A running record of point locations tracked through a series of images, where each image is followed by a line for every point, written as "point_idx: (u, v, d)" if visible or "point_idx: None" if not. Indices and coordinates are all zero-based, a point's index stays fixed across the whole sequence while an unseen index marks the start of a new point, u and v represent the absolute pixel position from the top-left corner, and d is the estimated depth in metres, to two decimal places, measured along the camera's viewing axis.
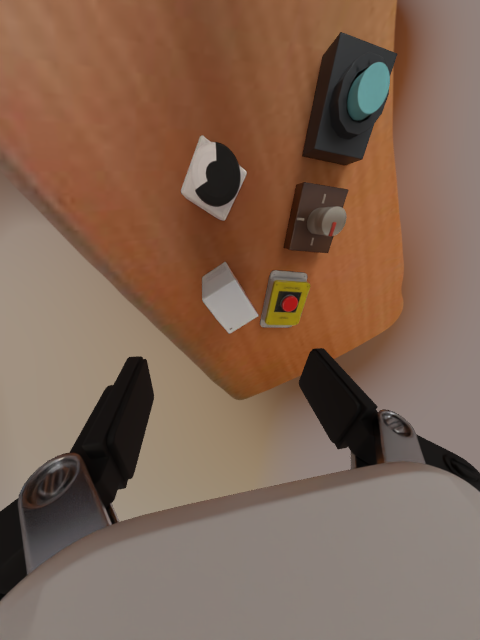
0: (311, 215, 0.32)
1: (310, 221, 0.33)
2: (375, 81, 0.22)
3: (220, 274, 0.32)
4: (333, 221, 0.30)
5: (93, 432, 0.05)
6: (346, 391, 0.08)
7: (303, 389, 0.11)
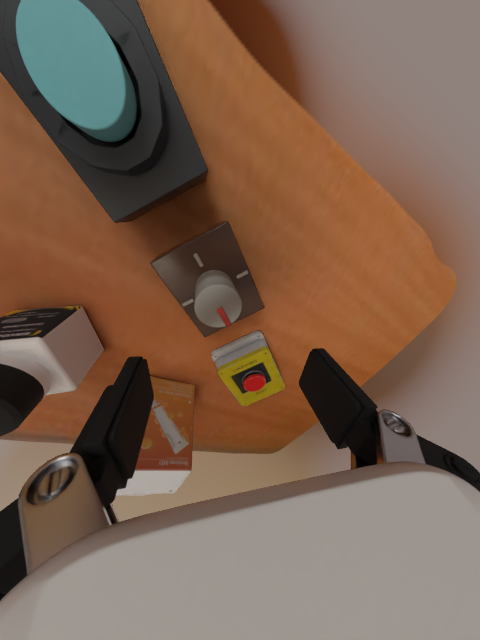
0: None
1: None
2: (60, 48, 0.08)
3: None
4: (216, 308, 0.16)
5: (93, 432, 0.05)
6: (346, 391, 0.08)
7: (303, 389, 0.11)
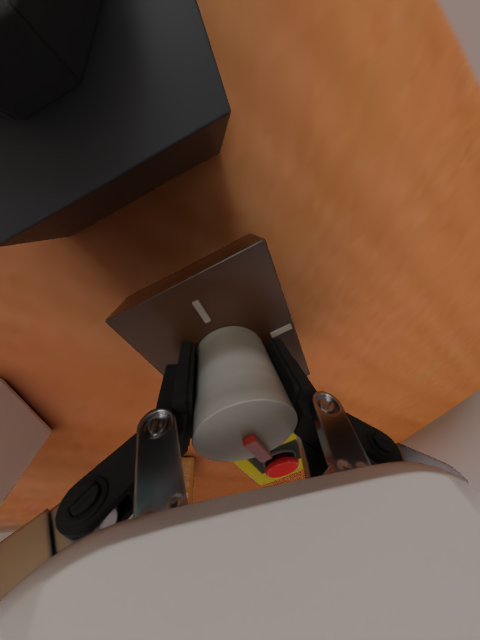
0: None
1: None
2: None
3: None
4: (242, 438, 0.07)
5: (176, 393, 0.07)
6: (289, 375, 0.08)
7: None
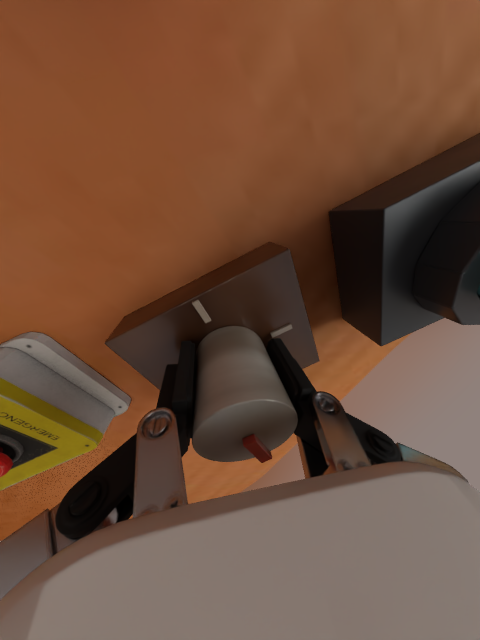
0: None
1: None
2: None
3: None
4: (242, 438, 0.07)
5: (176, 393, 0.07)
6: (289, 375, 0.08)
7: None
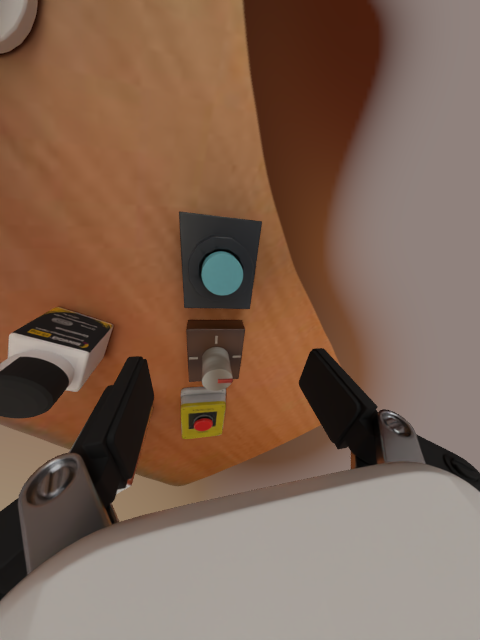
0: None
1: None
2: (221, 270, 0.18)
3: None
4: (217, 381, 0.25)
5: (93, 432, 0.05)
6: (346, 391, 0.08)
7: (303, 389, 0.11)
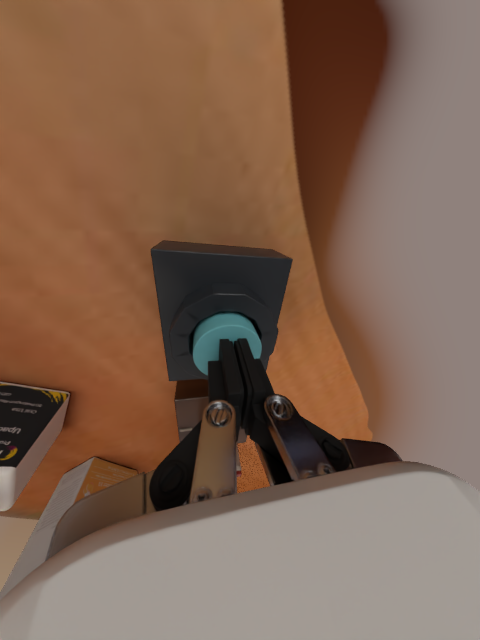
0: None
1: None
2: None
3: (50, 530, 0.20)
4: None
5: (230, 386, 0.07)
6: (245, 377, 0.08)
7: None
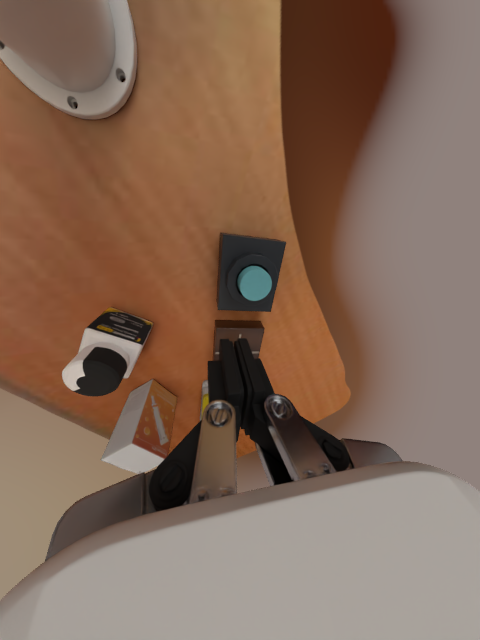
0: None
1: None
2: (256, 281, 0.23)
3: (135, 411, 0.32)
4: None
5: (230, 386, 0.07)
6: (245, 377, 0.08)
7: None
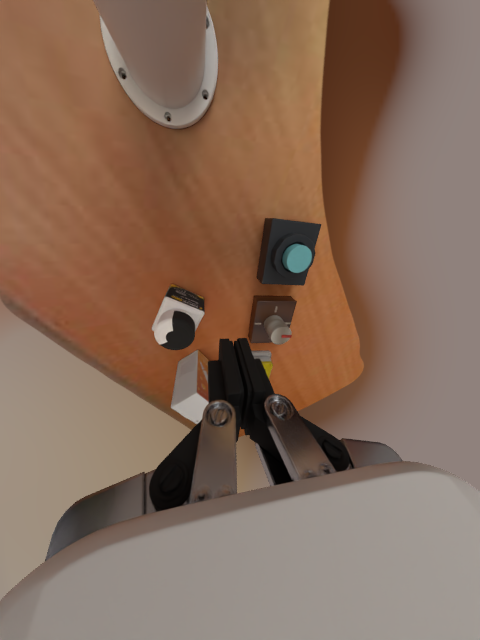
0: None
1: None
2: (299, 255, 0.29)
3: (189, 372, 0.38)
4: (280, 336, 0.36)
5: (230, 386, 0.07)
6: (245, 377, 0.08)
7: None
